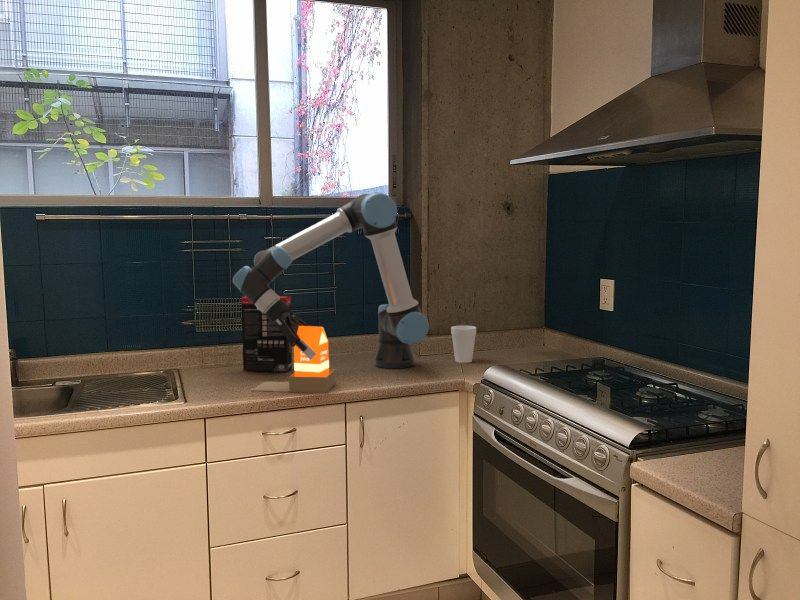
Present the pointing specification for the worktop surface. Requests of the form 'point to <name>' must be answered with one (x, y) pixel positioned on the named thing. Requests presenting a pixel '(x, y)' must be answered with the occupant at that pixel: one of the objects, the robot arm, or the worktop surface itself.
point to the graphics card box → (264, 340)
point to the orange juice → (319, 344)
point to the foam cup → (463, 342)
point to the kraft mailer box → (301, 384)
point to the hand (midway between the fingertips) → (319, 352)
